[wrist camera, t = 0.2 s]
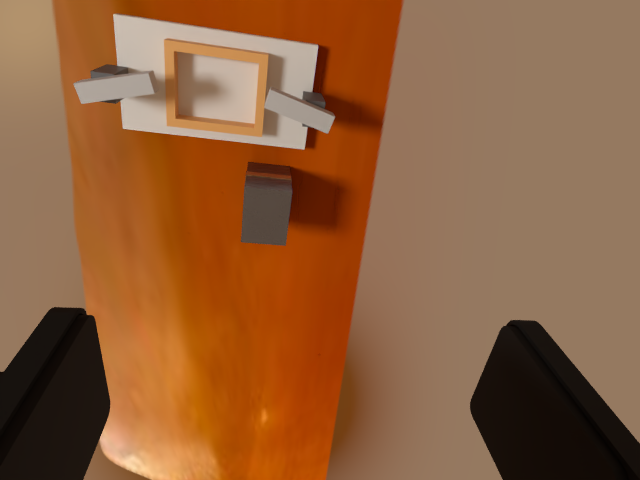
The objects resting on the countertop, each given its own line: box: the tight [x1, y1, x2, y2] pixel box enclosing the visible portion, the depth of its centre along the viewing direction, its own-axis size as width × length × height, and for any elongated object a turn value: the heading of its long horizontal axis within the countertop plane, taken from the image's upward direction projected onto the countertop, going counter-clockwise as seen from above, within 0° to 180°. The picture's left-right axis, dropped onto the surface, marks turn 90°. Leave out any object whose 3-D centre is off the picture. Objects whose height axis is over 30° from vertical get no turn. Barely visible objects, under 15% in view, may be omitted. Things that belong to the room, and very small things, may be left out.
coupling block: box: [241, 162, 292, 246], centre depth 44 cm, size 5×6×7 cm
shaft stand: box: [73, 14, 335, 149], centre depth 38 cm, size 21×10×7 cm, turn 81°
